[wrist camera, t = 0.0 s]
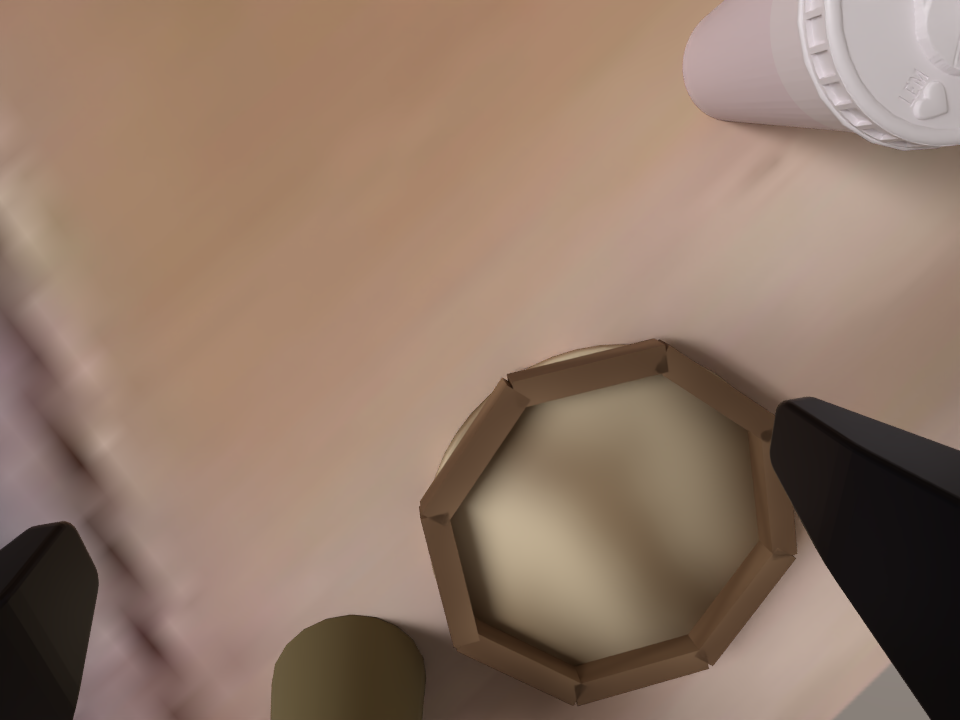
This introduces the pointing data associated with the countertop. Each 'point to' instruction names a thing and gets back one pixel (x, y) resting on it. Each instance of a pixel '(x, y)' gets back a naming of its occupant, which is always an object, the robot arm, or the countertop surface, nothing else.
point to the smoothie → (832, 67)
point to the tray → (607, 521)
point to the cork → (349, 673)
